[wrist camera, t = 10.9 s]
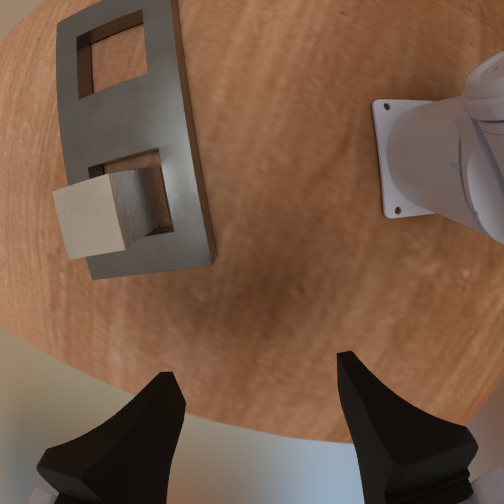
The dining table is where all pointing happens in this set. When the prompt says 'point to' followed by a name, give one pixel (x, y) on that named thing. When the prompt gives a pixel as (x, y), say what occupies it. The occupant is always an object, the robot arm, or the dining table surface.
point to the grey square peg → (110, 211)
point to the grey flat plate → (135, 130)
